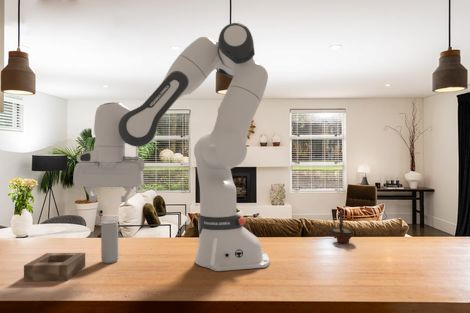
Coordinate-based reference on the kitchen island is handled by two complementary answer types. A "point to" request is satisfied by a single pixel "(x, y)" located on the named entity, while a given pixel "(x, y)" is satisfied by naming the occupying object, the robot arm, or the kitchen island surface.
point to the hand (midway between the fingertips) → (108, 201)
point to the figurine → (341, 231)
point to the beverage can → (109, 241)
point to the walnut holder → (54, 267)
